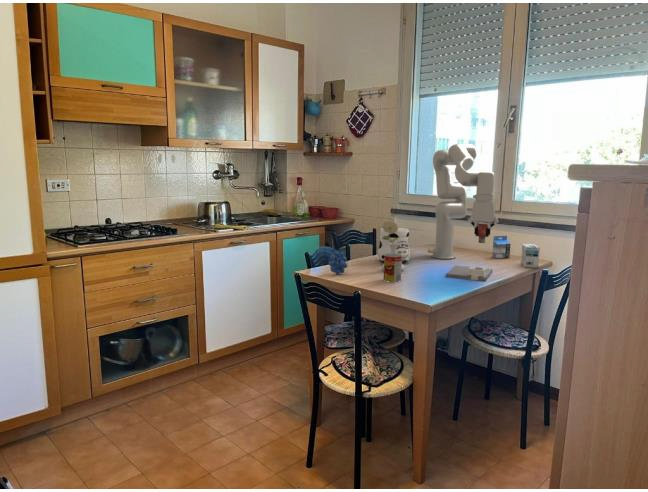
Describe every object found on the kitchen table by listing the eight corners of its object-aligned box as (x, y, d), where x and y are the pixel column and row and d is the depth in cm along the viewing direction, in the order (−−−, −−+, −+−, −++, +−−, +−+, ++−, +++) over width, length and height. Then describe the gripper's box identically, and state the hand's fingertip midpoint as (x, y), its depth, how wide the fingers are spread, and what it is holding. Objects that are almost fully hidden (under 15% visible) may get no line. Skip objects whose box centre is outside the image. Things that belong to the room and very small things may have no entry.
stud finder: (468, 275, 219) (468, 268, 218) (470, 272, 223) (470, 266, 223) (483, 276, 216) (484, 269, 215) (485, 274, 220) (486, 267, 220)
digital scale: (445, 276, 222) (446, 273, 222) (455, 268, 240) (455, 265, 240) (485, 281, 214) (485, 277, 214) (492, 272, 232) (492, 269, 231)
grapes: (335, 278, 219) (335, 253, 217) (325, 275, 224) (325, 251, 222) (352, 274, 227) (353, 249, 224) (342, 271, 231) (343, 248, 229)
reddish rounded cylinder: (476, 242, 225) (477, 224, 223) (477, 241, 229) (478, 223, 227) (485, 243, 223) (486, 224, 221) (487, 242, 227) (488, 223, 225)
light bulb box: (538, 268, 241) (540, 247, 239) (524, 267, 242) (526, 246, 240) (533, 263, 251) (535, 243, 249) (520, 263, 253) (522, 243, 251)
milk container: (403, 266, 243) (404, 232, 240) (372, 263, 252) (373, 229, 249) (414, 260, 258) (415, 228, 255) (384, 257, 267) (385, 226, 263)
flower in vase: (409, 270, 234) (410, 220, 230) (396, 274, 226) (397, 223, 222) (387, 266, 243) (388, 218, 239) (374, 270, 235) (375, 220, 231)
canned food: (389, 277, 220) (390, 252, 218) (404, 280, 216) (405, 254, 213) (380, 280, 214) (380, 255, 212) (395, 283, 210) (396, 257, 207)
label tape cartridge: (495, 258, 263) (497, 237, 261) (491, 257, 267) (493, 236, 265) (509, 258, 265) (511, 236, 263) (505, 256, 269) (507, 235, 267)
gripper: (464, 197, 223) (462, 235, 226) (502, 199, 215) (499, 238, 218) (467, 196, 229) (465, 233, 232) (504, 198, 222) (501, 236, 225)
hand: (482, 235), depth 225 cm, fingers closed on reddish rounded cylinder, 4 cm apart
